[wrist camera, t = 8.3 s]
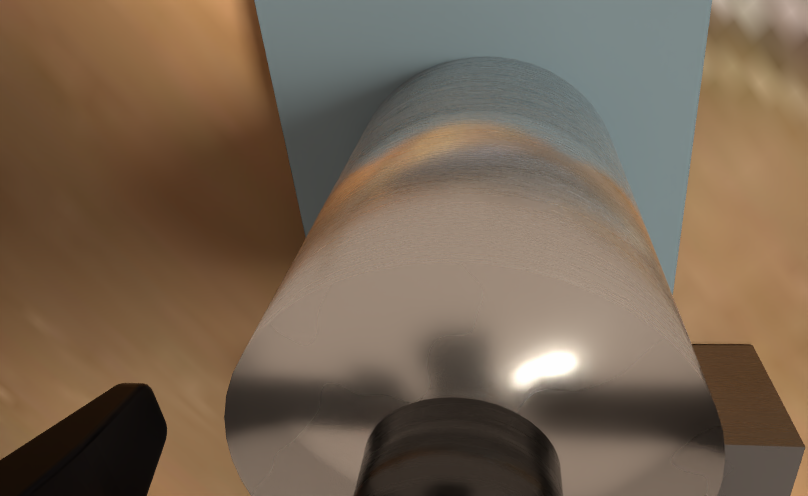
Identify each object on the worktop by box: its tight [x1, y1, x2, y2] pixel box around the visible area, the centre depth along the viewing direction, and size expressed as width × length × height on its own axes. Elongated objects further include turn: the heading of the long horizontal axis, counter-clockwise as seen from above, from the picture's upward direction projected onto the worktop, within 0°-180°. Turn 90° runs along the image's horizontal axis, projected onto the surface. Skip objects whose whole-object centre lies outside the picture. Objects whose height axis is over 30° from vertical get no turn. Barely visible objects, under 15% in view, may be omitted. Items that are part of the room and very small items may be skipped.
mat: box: [254, 0, 712, 296], centre depth 15 cm, size 9×9×1 cm
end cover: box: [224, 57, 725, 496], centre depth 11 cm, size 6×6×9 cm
